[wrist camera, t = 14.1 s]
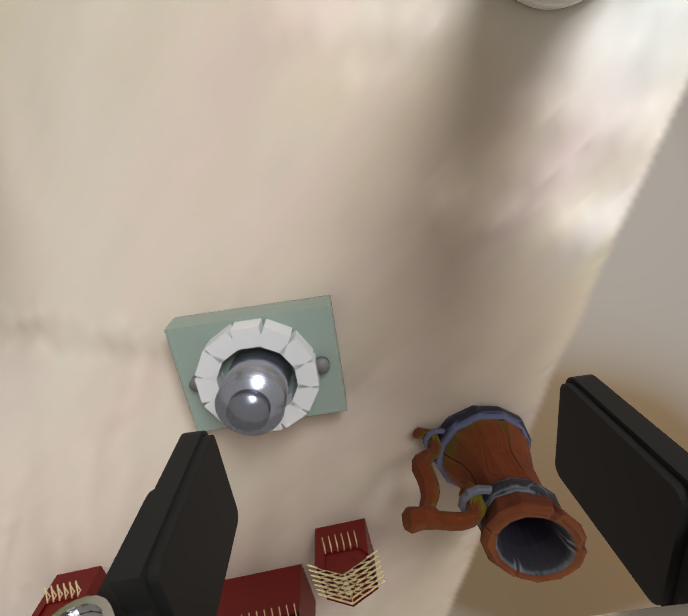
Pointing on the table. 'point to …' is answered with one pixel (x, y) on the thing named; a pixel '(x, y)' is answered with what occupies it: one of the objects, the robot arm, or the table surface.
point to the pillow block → (267, 332)
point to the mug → (495, 495)
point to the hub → (254, 391)
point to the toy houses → (266, 579)
